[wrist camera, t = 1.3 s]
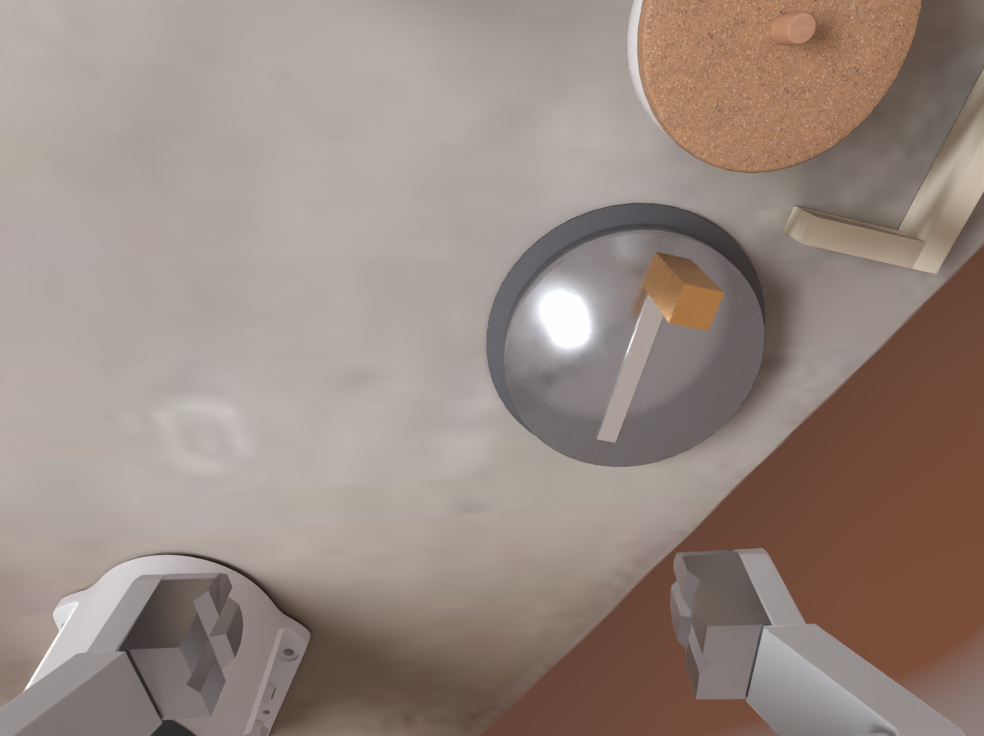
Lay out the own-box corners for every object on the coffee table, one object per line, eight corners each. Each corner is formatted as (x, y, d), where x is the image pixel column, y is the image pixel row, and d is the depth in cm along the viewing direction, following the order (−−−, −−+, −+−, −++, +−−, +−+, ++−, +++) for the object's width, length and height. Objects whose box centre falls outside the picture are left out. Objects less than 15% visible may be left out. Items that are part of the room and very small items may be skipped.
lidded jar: (827, 110, 32) (950, 133, 24) (626, 172, 34) (678, 215, 25) (816, -139, 27) (966, -218, 19) (582, -56, 29) (627, -96, 20)
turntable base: (701, 472, 43) (702, 475, 43) (462, 431, 41) (461, 434, 41) (810, 238, 35) (813, 239, 35) (523, 172, 33) (524, 174, 33)
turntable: (696, 464, 42) (735, 538, 36) (480, 427, 40) (481, 498, 34) (793, 254, 35) (861, 299, 29) (538, 198, 33) (553, 233, 27)
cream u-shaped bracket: (907, 260, 36) (936, 274, 34) (782, 231, 35) (803, 244, 33) (1097, -87, 29) (1150, -98, 26) (945, -136, 28) (986, -151, 25)
